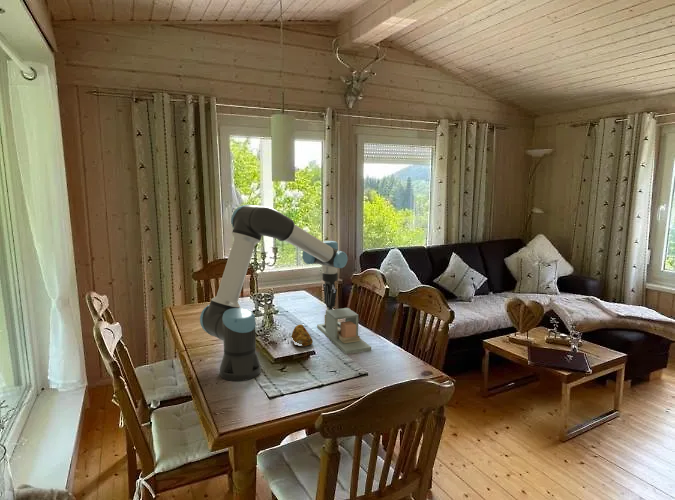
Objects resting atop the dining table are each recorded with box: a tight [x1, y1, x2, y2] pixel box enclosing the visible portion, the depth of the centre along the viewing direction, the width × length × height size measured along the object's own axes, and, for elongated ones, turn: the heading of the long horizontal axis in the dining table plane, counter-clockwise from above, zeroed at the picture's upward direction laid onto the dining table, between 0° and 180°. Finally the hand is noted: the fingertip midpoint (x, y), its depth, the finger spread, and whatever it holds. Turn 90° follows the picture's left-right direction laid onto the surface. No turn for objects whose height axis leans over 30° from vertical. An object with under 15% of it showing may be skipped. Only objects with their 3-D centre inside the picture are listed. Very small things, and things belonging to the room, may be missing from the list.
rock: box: [290, 324, 314, 347], centre depth 190 cm, size 11×8×10 cm
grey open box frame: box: [324, 314, 361, 343], centre depth 198 cm, size 26×8×5 cm, turn 22°
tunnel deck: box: [316, 307, 372, 355], centre depth 196 cm, size 36×12×12 cm, turn 22°
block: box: [340, 321, 356, 338], centre depth 190 cm, size 6×5×6 cm
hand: (329, 319), depth 211 cm, fingers closed
